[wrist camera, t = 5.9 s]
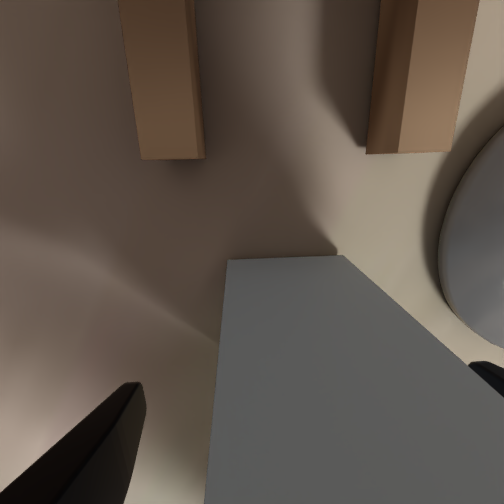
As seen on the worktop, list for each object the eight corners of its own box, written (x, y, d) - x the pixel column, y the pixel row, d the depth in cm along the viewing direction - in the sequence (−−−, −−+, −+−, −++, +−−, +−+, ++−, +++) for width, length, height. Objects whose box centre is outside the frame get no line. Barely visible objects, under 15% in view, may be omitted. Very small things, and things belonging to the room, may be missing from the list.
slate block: (334, 351, 12) (568, 806, 4) (232, 356, 12) (222, 854, 3) (343, 255, 11) (771, 635, 2) (227, 259, 10) (185, 695, 2)
